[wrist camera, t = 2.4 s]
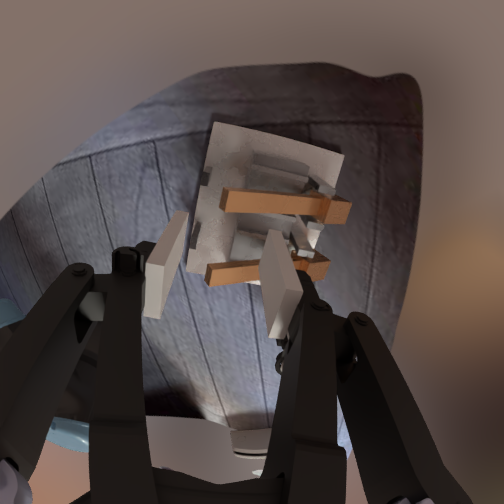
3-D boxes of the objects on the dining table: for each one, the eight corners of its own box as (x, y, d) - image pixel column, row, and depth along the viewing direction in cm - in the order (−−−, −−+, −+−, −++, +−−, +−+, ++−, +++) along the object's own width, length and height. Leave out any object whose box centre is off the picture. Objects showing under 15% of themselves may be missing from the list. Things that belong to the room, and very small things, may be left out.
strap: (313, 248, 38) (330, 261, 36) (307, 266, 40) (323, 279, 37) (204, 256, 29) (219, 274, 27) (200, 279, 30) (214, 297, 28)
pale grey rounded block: (232, 439, 65) (231, 463, 56) (230, 427, 65) (228, 452, 55) (294, 433, 66) (299, 457, 56) (293, 421, 65) (299, 445, 55)
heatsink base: (186, 267, 42) (179, 293, 36) (214, 121, 33) (209, 121, 27) (297, 287, 44) (305, 314, 38) (341, 154, 35) (361, 162, 29)
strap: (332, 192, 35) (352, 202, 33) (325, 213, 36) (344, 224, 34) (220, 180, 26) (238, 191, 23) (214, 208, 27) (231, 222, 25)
